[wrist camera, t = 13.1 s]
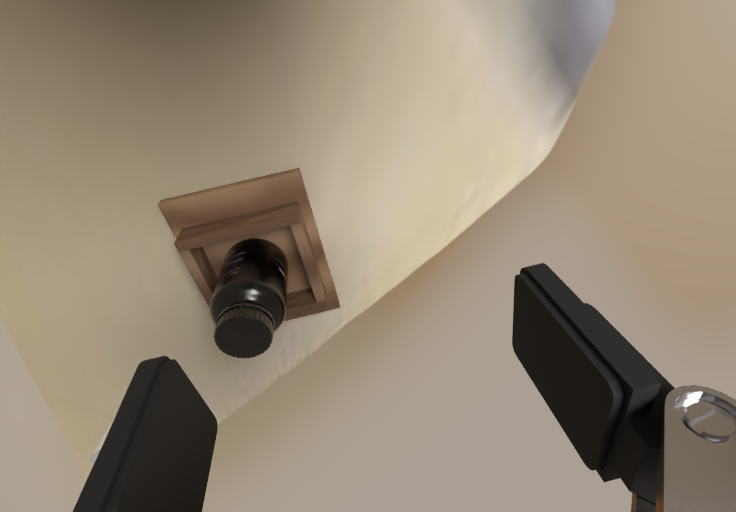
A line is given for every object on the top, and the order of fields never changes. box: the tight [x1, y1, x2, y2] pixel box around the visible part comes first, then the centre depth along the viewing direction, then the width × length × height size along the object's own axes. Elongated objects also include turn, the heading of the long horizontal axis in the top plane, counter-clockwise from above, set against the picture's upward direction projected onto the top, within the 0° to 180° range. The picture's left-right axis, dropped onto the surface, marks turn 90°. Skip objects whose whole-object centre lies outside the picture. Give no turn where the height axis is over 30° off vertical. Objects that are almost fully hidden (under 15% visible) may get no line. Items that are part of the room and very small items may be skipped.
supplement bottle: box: [210, 238, 288, 358], centre depth 37 cm, size 7×7×12 cm
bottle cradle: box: [158, 168, 340, 321], centre depth 42 cm, size 18×14×4 cm
